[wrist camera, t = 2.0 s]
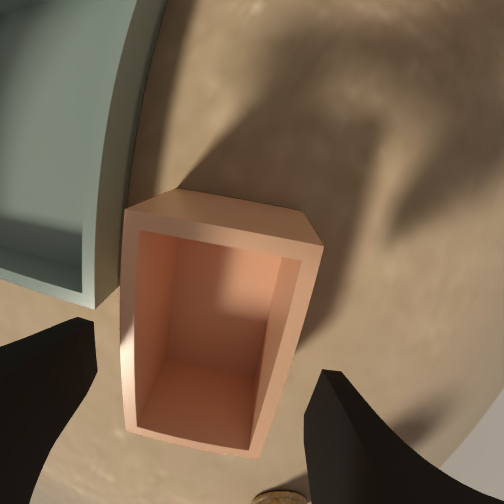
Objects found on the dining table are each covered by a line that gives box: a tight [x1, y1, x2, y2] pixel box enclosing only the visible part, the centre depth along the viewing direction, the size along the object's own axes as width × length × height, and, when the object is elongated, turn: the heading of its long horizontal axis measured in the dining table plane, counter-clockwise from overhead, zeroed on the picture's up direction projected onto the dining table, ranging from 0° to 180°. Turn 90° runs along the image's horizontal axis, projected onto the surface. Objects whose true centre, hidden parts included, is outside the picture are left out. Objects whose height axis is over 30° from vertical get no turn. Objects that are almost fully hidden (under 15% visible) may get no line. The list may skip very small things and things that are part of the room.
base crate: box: [0, 0, 168, 309], centre depth 11 cm, size 12×15×3 cm
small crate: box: [120, 188, 324, 459], centre depth 12 cm, size 6×9×6 cm, turn 169°
